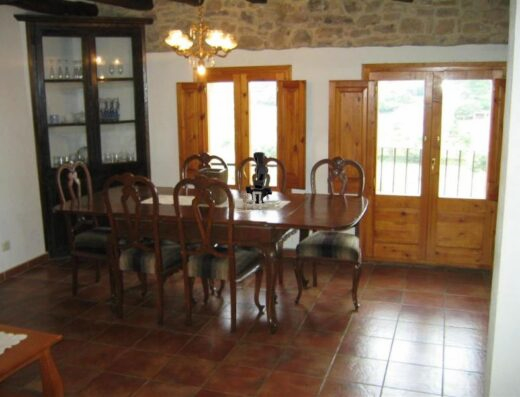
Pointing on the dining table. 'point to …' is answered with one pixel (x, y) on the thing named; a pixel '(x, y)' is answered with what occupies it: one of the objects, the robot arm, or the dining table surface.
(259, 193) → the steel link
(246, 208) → the birch stand
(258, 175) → the robot arm
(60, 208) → the dining table surface
